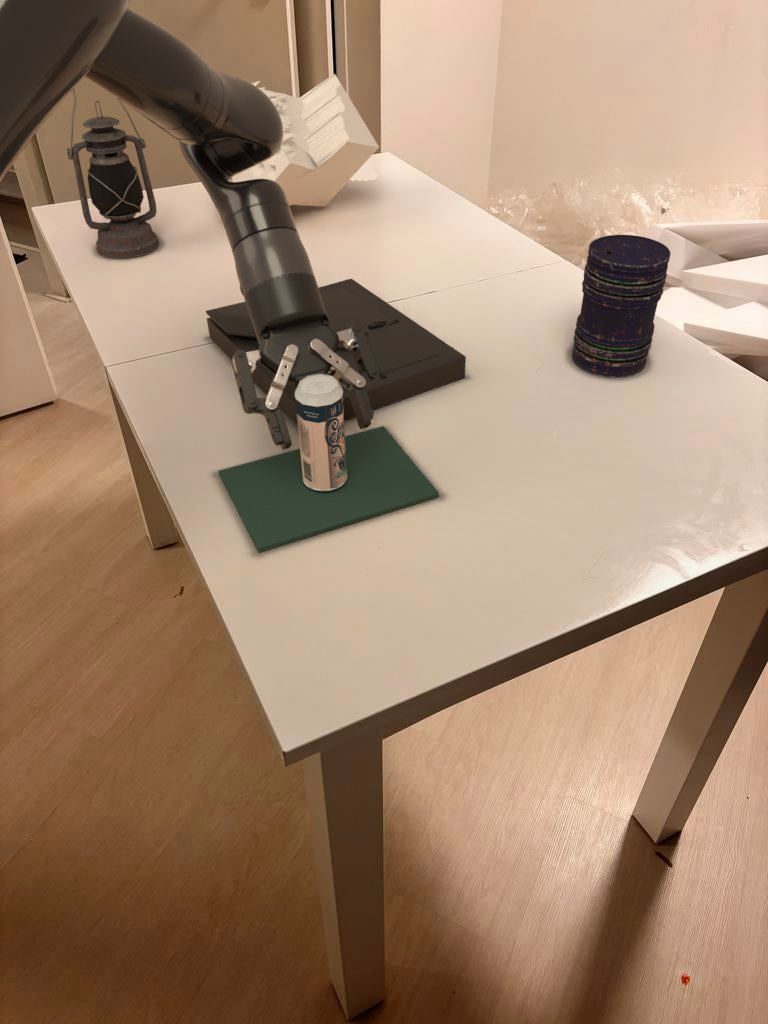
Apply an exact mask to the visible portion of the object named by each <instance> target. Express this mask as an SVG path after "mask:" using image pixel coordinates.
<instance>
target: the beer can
mask: <svg viewBox="0 0 768 1024" xmlns="http://www.w3.org/2000/svg"><path fill="white" fill-rule="evenodd" d="M295 401H296V411H297V422H298V426H297V431H298V442H299V449H300V453H301V464H302V474H303V482H304V483H305V484H306V485H307V486H308V487H309V488H311V489H314V490H317V491H330V490H333V489H337V488H339V487H340V486H342V485H343V484H344V483H345V482H346V480H347V470H346V451H345V436H346V435H345V434H346V432H345V421H344V411H343V389H342V387H341V386H340V384H339V383H338V381H337V380H336V379H335V378H333V377H332V376H330V375H324V374H316V375H310V376H307V377H305V378H304V379H302V380H300V382H299V385H298V387H297V389H296V391H295Z"/></svg>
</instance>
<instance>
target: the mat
mask: <svg viewBox="0 0 768 1024" xmlns="http://www.w3.org/2000/svg"><path fill="white" fill-rule="evenodd" d="M345 451H346V470H347V480H346V482H345V483H344V484H343V485H342V486H340V487H339V488H337V489H333V490H330V491H317V490H314V489H311V488H309V487H308V486H307V485H306V484H305V483H304V482H303V474H302V464H301V453H300V448H297V449H294V450H290V451H286V452H282V453H277V454H275V455H271V456H268V457H264V458H260V459H257V460H253V461H250V462H245V463H242V464H238V465H234V466H231V467H227V468H223V469H219V470H218V476H219V478H220V480H221V482H222V483H223V486H224V488H225V490H226V491H227V493H228V495H229V497H230V500H231V502H232V503H233V505H234V507H235V510H236V511H237V513H238V515H239V517H240V519H241V521H242V523H243V525H244V527H245V529H246V531H247V533H248V535H249V537H250V539H251V541H252V543H253V545H254V546H255V549H256V551H257V553H262V552H266V551H269V550H273V549H276V548H279V547H282V546H286V545H288V544H292V543H294V542H298V541H302V540H304V539H308V538H311V537H314V536H317V535H321V534H324V533H327V532H330V531H333V530H338V529H340V528H343V527H346V526H350V525H353V524H357V523H359V522H363V521H366V520H370V519H373V518H376V517H378V516H382V515H385V514H389V513H393V512H395V511H399V510H402V509H405V508H408V507H411V506H415V505H418V504H421V503H424V502H428V501H430V500H434V499H437V498H440V491H438V489H436V487H435V486H434V485H433V484H432V483H431V481H430V480H429V479H428V478H427V477H426V475H425V474H424V472H422V470H420V468H419V467H418V466H417V465H416V464H415V462H414V461H413V460H412V459H411V457H410V456H409V454H407V453H406V451H405V450H404V449H403V448H402V447H401V445H400V444H399V443H398V442H397V441H396V439H395V438H394V437H393V436H392V434H390V433H389V431H388V430H387V429H386V428H385V426H384V425H382V426H379V427H374V428H371V429H368V430H363V431H360V432H357V433H352V434H348V435H345Z"/></svg>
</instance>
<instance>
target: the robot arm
mask: <svg viewBox="0 0 768 1024" xmlns="http://www.w3.org/2000/svg"><path fill="white" fill-rule="evenodd" d="M129 2H130V0H0V183H1V181H2V180H3V179H4V177H5V176H6V174H8V172H9V170H10V169H11V168H12V167H13V165H14V164H15V162H16V160H17V159H18V158H19V157H20V155H21V153H22V152H23V151H24V149H25V148H26V147H27V145H28V144H29V143H30V141H31V139H33V137H34V136H35V135H36V134H37V132H38V131H39V130H40V128H41V127H42V126H43V125H44V124H45V122H47V120H48V119H50V117H51V116H52V115H53V113H54V112H55V111H56V110H57V109H58V108H59V106H60V105H61V104H62V103H63V101H64V100H65V99H67V97H68V96H69V95H70V94H71V92H73V89H74V88H75V89H76V86H78V85H79V83H80V82H81V81H82V80H83V79H84V77H85V78H86V79H88V80H89V81H90V82H93V83H94V84H96V85H98V86H99V87H101V89H104V90H105V91H107V92H108V93H109V94H111V95H113V96H114V97H115V98H117V99H118V98H119V99H120V100H121V102H122V103H123V104H126V105H128V106H129V108H132V109H133V110H134V111H136V112H137V113H138V114H140V115H142V116H143V117H144V118H145V119H147V120H148V121H150V122H151V123H152V124H154V125H155V126H156V127H158V128H159V129H161V130H162V131H163V132H165V133H166V134H167V135H169V136H170V137H172V138H173V139H175V140H177V141H178V143H179V144H178V145H179V148H180V151H181V153H182V155H183V157H184V159H185V160H186V163H187V164H188V165H189V167H190V169H191V170H192V171H193V172H194V174H195V175H196V177H197V179H198V180H199V181H200V183H201V185H202V186H203V187H204V189H205V191H206V192H207V194H208V196H209V198H210V199H211V201H212V203H213V205H214V206H215V209H216V211H217V213H218V215H219V216H220V219H221V222H222V225H223V228H224V230H225V233H226V237H227V240H228V244H229V246H230V249H231V252H232V257H233V261H234V266H235V272H236V276H237V280H238V284H239V290H240V293H241V295H242V297H243V299H244V302H246V305H247V308H248V312H249V315H250V318H251V321H252V324H253V327H254V330H255V334H256V337H257V340H258V343H259V350H255V351H249V352H245V351H244V350H242V349H238V350H236V351H235V353H234V356H233V359H232V360H231V366H232V370H233V374H234V378H235V382H236V386H237V390H238V394H239V398H240V402H241V406H242V410H243V412H244V413H246V414H249V415H250V414H260V415H262V416H263V417H264V418H265V421H266V424H267V427H268V430H269V434H270V436H271V439H272V442H273V443H274V445H275V446H280V448H281V450H282V451H284V450H287V449H290V448H291V447H292V446H293V441H292V438H291V435H290V431H289V428H288V426H287V422H286V418H285V416H284V412H283V411H282V410H281V409H280V408H279V407H278V403H279V401H280V398H281V395H282V393H283V390H284V388H285V385H286V383H287V384H291V385H293V386H296V385H299V382H300V380H302V379H304V378H305V377H307V376H310V375H316V374H324V375H330V376H332V377H333V378H335V379H336V380H337V381H338V383H339V384H340V385H342V386H343V387H344V388H346V389H347V390H348V391H349V392H351V395H350V396H349V397H350V401H351V404H352V407H353V410H354V413H355V416H356V417H355V419H356V423H357V425H358V428H359V429H360V430H364V429H367V428H369V427H370V426H371V424H372V420H373V419H374V415H375V412H374V410H373V409H372V406H371V403H370V400H369V397H368V393H367V390H366V388H367V386H368V385H369V384H371V383H372V382H373V381H374V380H375V379H376V378H377V377H378V376H379V375H380V370H379V368H378V365H377V363H376V360H375V358H374V355H373V352H372V350H371V347H370V345H369V342H368V339H367V337H366V334H365V332H364V329H363V327H362V325H360V324H358V323H356V324H354V325H353V326H352V327H351V328H350V329H346V330H343V331H339V332H336V331H335V330H334V329H333V328H332V327H331V325H330V323H329V320H328V316H327V313H326V310H325V307H324V304H323V301H322V297H321V294H320V291H319V285H318V282H317V279H316V276H315V272H314V270H313V267H312V264H311V260H310V257H309V255H308V251H307V250H306V248H305V245H304V244H303V242H302V240H301V237H300V234H299V232H298V228H297V224H296V222H295V219H294V216H293V213H292V209H291V207H290V206H291V205H290V206H289V203H288V200H287V197H286V195H285V192H284V190H283V189H282V187H281V186H280V185H279V184H278V183H277V182H275V181H273V180H269V179H253V180H246V181H241V182H233V180H232V177H233V176H235V175H237V174H239V173H241V172H243V171H245V170H247V169H249V168H251V167H253V166H256V165H258V164H260V163H262V162H264V161H266V160H268V159H270V158H271V157H273V156H274V155H275V154H276V153H277V152H278V150H279V149H280V147H281V144H282V140H283V124H282V120H281V117H280V115H279V112H278V110H277V109H276V107H275V105H274V104H273V102H272V101H271V100H270V99H269V97H268V96H267V95H266V94H265V93H264V92H263V91H261V90H260V89H259V88H260V87H257V85H256V86H255V85H253V84H251V83H252V82H249V81H247V80H245V79H243V78H239V77H238V76H237V77H236V76H234V75H231V74H229V73H225V72H224V71H220V70H216V69H214V68H212V67H211V66H210V64H208V63H207V61H205V59H203V57H201V56H200V55H199V53H197V51H195V50H194V49H193V48H192V47H190V45H188V44H187V43H186V42H184V41H183V40H182V39H180V38H179V37H177V36H176V35H174V34H173V33H171V32H170V31H169V30H167V29H165V28H164V27H162V26H161V25H159V24H157V23H155V22H154V21H152V20H150V19H148V18H146V17H145V16H143V15H141V14H139V13H137V12H136V11H134V10H132V9H130V8H128V6H129ZM339 343H341V344H343V345H344V346H345V348H346V349H347V350H349V351H352V354H353V356H354V359H355V361H356V364H357V367H358V369H359V372H360V374H361V375H360V374H358V373H357V372H356V371H355V370H353V369H352V368H351V367H350V365H349V364H348V363H347V362H346V361H345V360H343V359H342V358H341V357H340V356H338V355H337V354H336V350H337V347H338V345H339ZM259 361H260V363H261V364H262V365H264V366H265V367H266V368H267V369H269V370H270V371H271V372H272V373H274V374H275V375H274V378H273V380H272V383H271V385H270V388H269V391H268V394H267V395H266V397H258V393H257V390H256V386H255V383H254V382H253V378H252V373H254V371H255V369H256V363H257V362H259ZM330 371H331V372H330Z"/></svg>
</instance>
